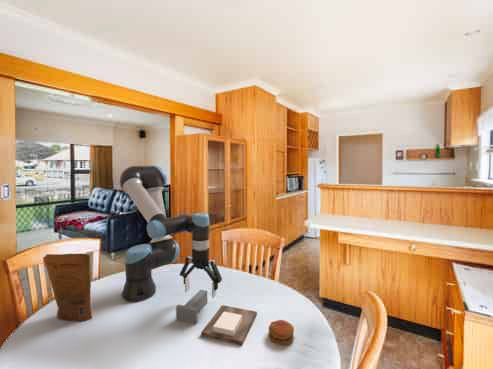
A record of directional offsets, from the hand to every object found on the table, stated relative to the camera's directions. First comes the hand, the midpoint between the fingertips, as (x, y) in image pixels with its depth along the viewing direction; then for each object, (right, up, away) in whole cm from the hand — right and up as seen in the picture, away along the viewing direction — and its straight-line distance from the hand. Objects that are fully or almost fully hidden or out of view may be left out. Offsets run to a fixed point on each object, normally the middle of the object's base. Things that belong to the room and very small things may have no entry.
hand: (200, 293), depth 113 cm
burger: (+34, -7, -21) cm, 40 cm away
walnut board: (+15, -6, -14) cm, 21 cm away
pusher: (-1, -6, -5) cm, 7 cm away
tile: (+15, -3, -12) cm, 20 cm away
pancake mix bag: (-51, -6, -10) cm, 52 cm away
